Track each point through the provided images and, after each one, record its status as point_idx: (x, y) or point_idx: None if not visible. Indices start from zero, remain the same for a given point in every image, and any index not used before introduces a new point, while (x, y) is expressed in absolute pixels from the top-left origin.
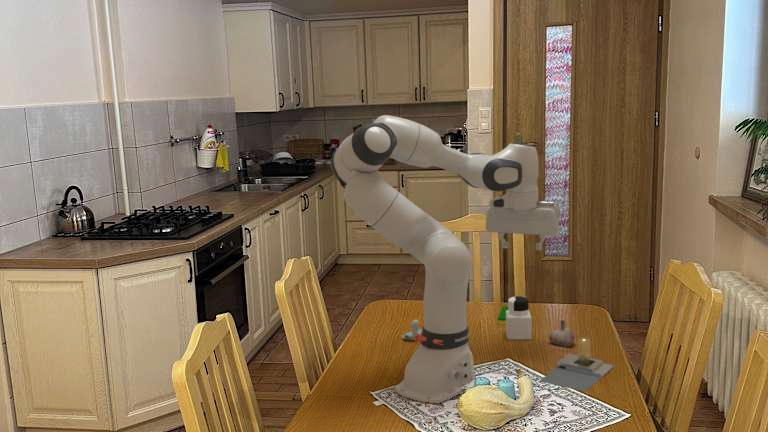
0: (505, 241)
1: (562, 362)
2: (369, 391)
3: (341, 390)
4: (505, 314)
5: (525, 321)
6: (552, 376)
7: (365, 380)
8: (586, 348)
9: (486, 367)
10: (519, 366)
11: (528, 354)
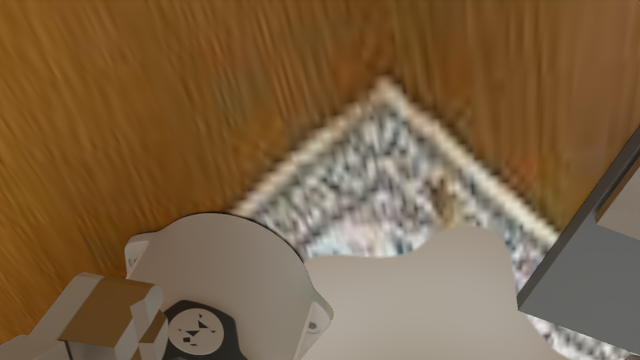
0: (70, 354)
1: (619, 227)
2: None
3: None
4: None
5: None
6: (566, 279)
7: (40, 300)
8: None
9: (323, 183)
10: (440, 158)
11: (470, 25)
